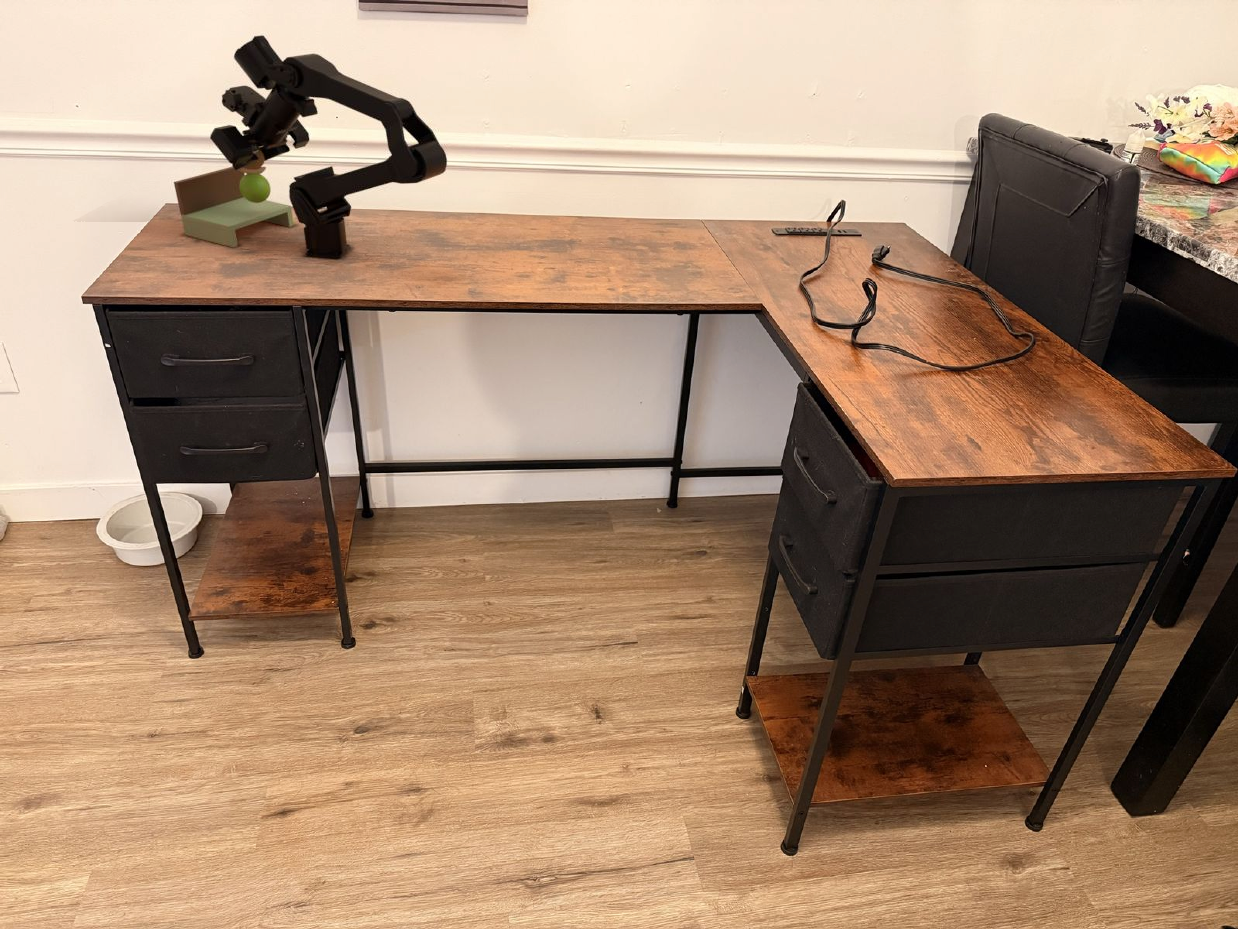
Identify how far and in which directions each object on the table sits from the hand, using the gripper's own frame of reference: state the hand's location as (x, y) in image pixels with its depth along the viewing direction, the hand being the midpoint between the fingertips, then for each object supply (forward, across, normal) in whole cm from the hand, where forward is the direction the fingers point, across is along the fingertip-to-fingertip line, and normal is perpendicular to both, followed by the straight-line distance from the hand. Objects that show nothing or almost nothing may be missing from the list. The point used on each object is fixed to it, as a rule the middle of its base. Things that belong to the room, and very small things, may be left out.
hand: (243, 165), depth 159 cm
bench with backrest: (+12, 0, +7) cm, 13 cm away
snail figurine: (+4, 0, +6) cm, 7 cm away
